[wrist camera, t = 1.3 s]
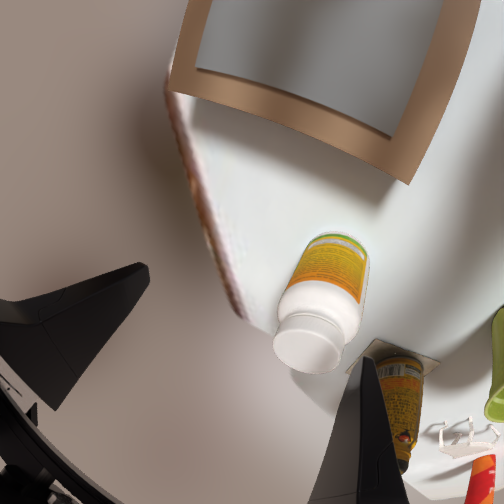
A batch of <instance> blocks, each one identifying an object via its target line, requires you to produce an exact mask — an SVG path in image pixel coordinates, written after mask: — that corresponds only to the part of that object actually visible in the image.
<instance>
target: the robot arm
mask: <svg viewBox="0 0 504 504" xmlns="http://www.w3.org/2000/svg"><path fill="white" fill-rule="evenodd" d="M149 283H150V276H149V268H148V266H147V265H145V264H143V263H141V262H137V263H134V264H131V265H128V266H125V267H122V268H120V269H117V270H114V271H111V272H108V273H105V274H102V275H99V276H96V277H94V278H90V279H87V280H85V281H82V282H79V283H76V284H73V285H70V286H68V287H65V288H62V289H59V290H56V291H53V292H50V293H47V294H43V295H40V296H36V297H32V298H29V299H25V300H21V301H16V302H12V301H6V300H3V299H0V456H1V457H2V459H3V460H4V461H5V463H6V464H7V465H6V466H5V467H4V468H3V470H2V471H1V472H0V504H79V503H78V502H77V501H75V500H74V499H73V498H72V497H71V496H70V495H67V494H65V493H64V492H63V491H62V490H61V489H60V488H58V487H57V486H56V485H54V484H53V482H54V481H55V479H56V480H58V481H59V482H60V483H61V484H62V486H63V487H64V488H66V489H67V490H68V491H70V492H71V494H72V495H73V496H75V497H76V498H77V499H79V500H80V501H81V502H82V503H83V504H124V503H122V502H121V501H119V500H118V499H117V498H115V497H114V496H112V495H111V494H110V493H108V492H107V491H105V490H104V489H103V488H101V487H100V486H99V485H98V484H96V483H95V482H94V481H93V480H91V479H90V478H89V477H88V476H86V475H85V474H84V473H83V472H82V471H81V470H79V469H78V468H77V467H76V466H75V465H74V464H73V463H71V462H70V461H69V460H68V459H67V458H66V457H65V456H64V455H63V454H62V453H61V452H60V451H59V450H57V449H56V447H55V446H54V445H53V444H51V442H50V441H49V440H48V439H47V438H46V437H45V436H44V435H43V434H42V433H41V432H40V431H39V430H38V429H37V426H38V421H37V403H36V401H37V400H38V399H39V397H40V398H41V399H42V400H43V401H44V402H45V403H46V404H47V405H48V406H49V407H50V408H52V409H53V410H54V411H56V410H57V409H58V408H59V406H60V405H61V403H62V402H63V401H64V399H65V398H66V396H67V395H68V394H69V392H70V391H71V389H72V388H73V387H74V385H75V384H76V382H77V381H78V379H79V378H80V377H81V375H82V374H83V373H84V371H85V370H86V369H87V367H88V366H89V365H90V363H91V362H92V361H93V359H94V358H95V357H96V355H97V354H98V353H99V352H100V350H101V349H102V348H103V346H104V345H105V344H106V342H107V341H108V340H109V339H110V337H111V336H112V335H113V333H114V332H115V331H116V330H117V328H118V327H119V326H120V325H121V323H122V322H123V321H124V320H125V318H126V317H127V316H128V315H129V313H130V312H131V311H132V309H133V308H134V306H135V305H136V303H137V302H138V300H139V298H140V297H141V296H142V294H143V293H144V291H145V289H146V288H147V287H148V285H149ZM392 441H393V437H392V432H391V427H390V423H389V418H388V414H387V409H386V405H385V401H384V397H383V393H382V389H381V385H380V381H379V377H378V373H377V370H376V366H375V363H374V360H373V358H371V357H368V356H365V355H363V356H362V357H361V358H360V359H359V361H358V362H357V363H356V364H355V366H354V367H353V369H352V371H351V374H350V377H349V380H348V383H347V386H346V389H345V391H344V394H343V397H342V399H341V402H340V405H339V408H338V411H337V415H336V419H335V423H334V426H333V430H332V433H331V437H330V440H329V444H328V447H327V450H326V454H325V456H324V460H323V462H322V465H321V468H320V471H319V474H318V477H317V480H316V483H315V485H314V488H313V491H312V493H311V496H310V499H309V501H308V504H409V501H408V498H407V494H406V490H405V487H404V483H403V480H402V476H401V473H400V469H399V465H398V461H397V456H396V452H395V446H394V442H392Z"/></svg>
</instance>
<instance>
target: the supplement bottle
mask: <svg viewBox="0 0 504 504" xmlns="http://www.w3.org/2000/svg"><path fill="white" fill-rule="evenodd" d="M369 268H370V260H369V255H368V252H367V250H366V249H365V247H364V246H363V244H362V243H361V242H360V241H359V240H358V239H356V238H355V237H353V236H351V235H349V234H347V233H344V232H337V231H331V232H325V233H322V234H320V235H318V236H316V237H315V238H314V239H312V240H311V241H310V243H309V244H308V246H307V247H306V249H305V251H304V253H303V255H302V258H301V260H300V262H299V264H298V266H297V268H296V270H295V272H294V274H293V276H292V278H291V280H290V282H289V284H288V286H287V287H286V289H285V291H284V293H283V295H282V297H281V299H280V302H279V305H278V310H277V314H278V320H279V323H280V326H279V328H278V330H277V332H276V335H275V337H274V339H273V344H272V345H273V350H274V352H275V354H276V356H277V357H278V358H279V359H280V360H281V361H282V362H283V363H284V364H286V365H287V366H289V367H291V368H292V369H295V370H297V371H300V372H303V373H308V374H323V373H327V372H330V371H332V370H333V369H335V368H336V367H337V366H338V364H339V362H340V360H341V356H342V353H343V350H344V346H345V345H346V344H348V343H349V342H350V341H352V340H353V338H354V337H355V336H356V334H357V332H358V330H359V327H360V324H361V320H362V314H363V308H364V302H365V296H366V290H367V284H368V276H369Z"/></svg>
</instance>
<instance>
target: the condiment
mask: <svg viewBox="0 0 504 504" xmlns="http://www.w3.org/2000/svg"><path fill="white" fill-rule="evenodd" d="M395 353H396V354H395ZM363 355H365V356H368V357H371V358H373V360H374V363H375V366H376V370H377V373H378V377H379V381H380V385H381V389H382V393H383V397H384V401H385V405H386V409H387V414H388V418H389V423H390V427H391V432H392V437H393V441H392V442H394V446H395V452H396V456H397V461H398V465H399V469H400V473H401V475H402V474H403V473H405V472H406V470H407V469H408V464H409V459H410V457H411V453H410V451H411V450H412V449H413V448H414V447H415V445H416V442H417V438H418V432H419V423H420V416H421V407H422V396H423V384H424V383H423V379H424V378H423V377H425V376H426V375H427V374H428V373H430V372H431V371H432V370H434V369H435V368H436V367H437V366H438V365H439V364H440V362H437V361H435V360H432V359H430V358H427V357H424V356H422V355H420V354H416V353H414V352H410V351H407V350H403V349H402V348H400V347H397V346H395V345H392V344H389V343H385V342H383V341H380V340H378V339H375V340H374V341H373V343H371V344H370V346H369V347H368V348H367V349H366V350H365V351H364V352H363V353H362V355H361V356H360V357H359V358H358V359H357V360H356V361H355V363H354V364H353V365H352V366H351V367H350V368H349V369H348V370H347V372H346V373H347V374H349V375H350V374H351V371H352V369H353V367H354V366H355V364H356V363H357V362H358V361H359V359H360V358H361V357H362V356H363Z"/></svg>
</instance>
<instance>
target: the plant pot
mask: <svg viewBox="0 0 504 504" xmlns="http://www.w3.org/2000/svg"><path fill="white" fill-rule="evenodd" d="M492 353H493V369H492V386H491V388H490V392H489V399H488V400H487V402H486V405H485V408H484V415H485V417H486V418H487V419H488V420H490V421H492V422H497V423H504V308H502V309H500V310H499V311H498V313H497V314H496V316H495V318H494V320H493V323H492Z"/></svg>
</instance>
